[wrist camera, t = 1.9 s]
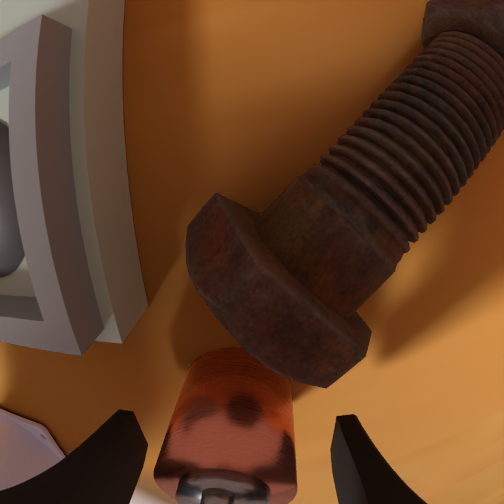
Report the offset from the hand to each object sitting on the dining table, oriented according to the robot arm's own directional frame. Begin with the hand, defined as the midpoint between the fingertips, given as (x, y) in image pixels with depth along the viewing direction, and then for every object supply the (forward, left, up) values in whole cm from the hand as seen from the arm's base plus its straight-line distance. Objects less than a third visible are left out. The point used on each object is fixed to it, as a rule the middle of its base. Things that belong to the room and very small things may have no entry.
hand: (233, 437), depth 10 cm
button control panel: (+11, +9, -3) cm, 15 cm away
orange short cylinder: (0, 0, -3) cm, 3 cm away
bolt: (+10, -7, -3) cm, 13 cm away
